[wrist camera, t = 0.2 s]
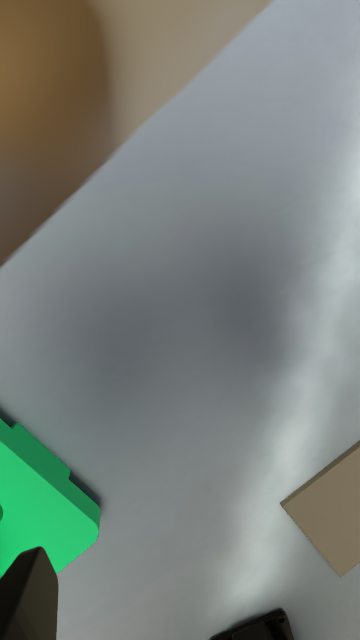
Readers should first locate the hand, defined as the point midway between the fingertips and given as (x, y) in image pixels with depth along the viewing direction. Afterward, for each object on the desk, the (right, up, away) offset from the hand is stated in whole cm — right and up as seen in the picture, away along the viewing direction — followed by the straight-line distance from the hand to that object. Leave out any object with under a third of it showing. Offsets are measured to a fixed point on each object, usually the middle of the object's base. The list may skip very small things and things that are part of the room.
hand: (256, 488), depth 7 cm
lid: (+12, -11, +20) cm, 25 cm away
